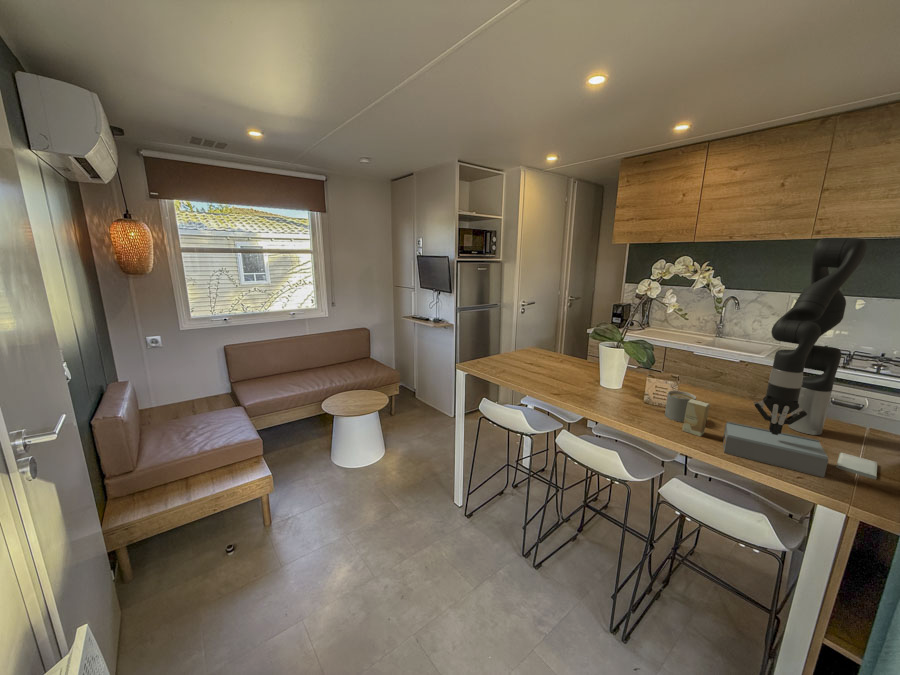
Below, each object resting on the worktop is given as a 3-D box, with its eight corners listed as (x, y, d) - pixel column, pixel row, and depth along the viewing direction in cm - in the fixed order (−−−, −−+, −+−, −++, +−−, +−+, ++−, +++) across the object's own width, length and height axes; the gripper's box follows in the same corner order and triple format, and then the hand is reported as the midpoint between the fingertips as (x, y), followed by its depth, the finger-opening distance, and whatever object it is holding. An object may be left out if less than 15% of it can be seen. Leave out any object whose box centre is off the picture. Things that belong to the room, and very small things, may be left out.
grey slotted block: (723, 439, 130) (725, 423, 128) (814, 460, 116) (818, 443, 115) (724, 452, 120) (727, 436, 119) (824, 477, 106) (828, 459, 105)
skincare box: (681, 430, 136) (686, 401, 133) (685, 427, 138) (690, 398, 136) (701, 437, 131) (706, 406, 128) (705, 433, 134) (710, 403, 131)
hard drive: (876, 476, 105) (877, 461, 113) (836, 464, 111) (840, 451, 119) (875, 481, 106) (876, 466, 113) (835, 469, 112) (839, 456, 119)
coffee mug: (686, 424, 141) (690, 401, 139) (660, 416, 149) (663, 393, 147) (700, 416, 149) (703, 394, 147) (674, 408, 156) (677, 387, 154)
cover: (726, 424, 128) (726, 421, 128) (817, 443, 115) (818, 440, 115) (727, 436, 119) (728, 433, 118) (827, 459, 105) (828, 456, 105)
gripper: (811, 383, 110) (800, 434, 114) (756, 376, 118) (747, 424, 121) (817, 391, 104) (804, 444, 108) (758, 382, 112) (748, 432, 116)
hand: (774, 433), depth 115 cm, fingers closed
